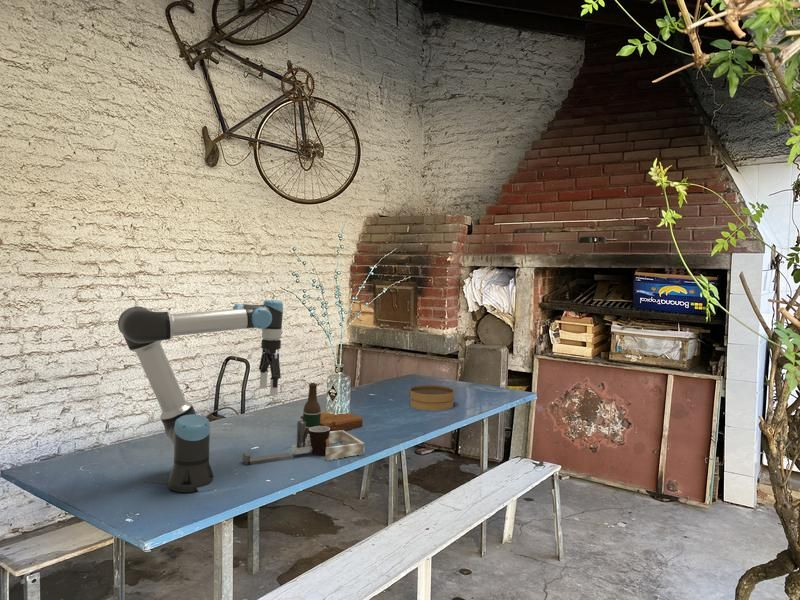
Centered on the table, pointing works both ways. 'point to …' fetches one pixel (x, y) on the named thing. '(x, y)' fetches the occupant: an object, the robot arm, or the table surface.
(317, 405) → the beer bottle
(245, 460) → the rail
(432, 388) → the sieve
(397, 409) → the table surface
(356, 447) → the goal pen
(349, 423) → the diary
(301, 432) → the rod carriage
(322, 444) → the coffee mug
